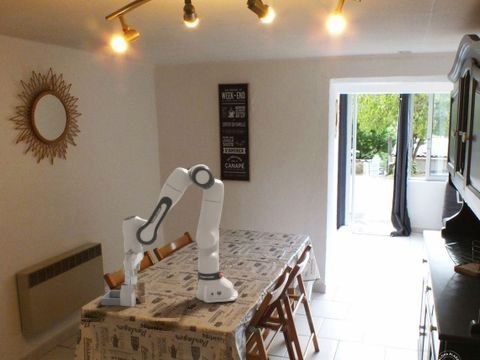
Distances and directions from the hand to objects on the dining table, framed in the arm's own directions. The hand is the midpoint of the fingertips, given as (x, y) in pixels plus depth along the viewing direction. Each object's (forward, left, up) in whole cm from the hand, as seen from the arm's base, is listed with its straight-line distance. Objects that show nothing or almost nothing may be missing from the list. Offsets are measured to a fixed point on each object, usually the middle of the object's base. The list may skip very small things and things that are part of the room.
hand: (135, 273), depth 220 cm
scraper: (-2, -1, -15) cm, 15 cm away
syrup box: (+11, -25, -15) cm, 31 cm away
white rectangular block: (+3, +5, -15) cm, 16 cm away
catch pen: (+11, 0, -15) cm, 19 cm away
